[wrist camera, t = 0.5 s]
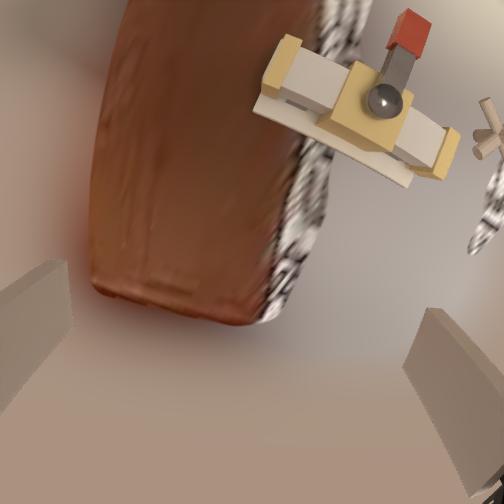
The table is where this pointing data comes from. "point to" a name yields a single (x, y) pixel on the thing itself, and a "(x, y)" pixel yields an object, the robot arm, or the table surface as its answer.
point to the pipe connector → (489, 132)
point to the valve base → (351, 115)
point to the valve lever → (397, 66)
